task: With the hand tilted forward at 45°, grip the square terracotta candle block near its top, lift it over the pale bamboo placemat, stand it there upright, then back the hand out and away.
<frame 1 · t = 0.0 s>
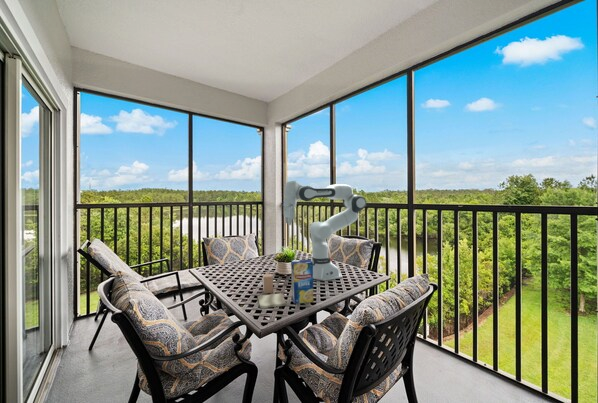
hand: (288, 224, 177), 39 cm above the table, tool pointing down, fingers open, 8 cm apart
terracotta candle block: (268, 291, 158), on the table
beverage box: (302, 300, 144), on the table
placemat: (271, 301, 143), on the table
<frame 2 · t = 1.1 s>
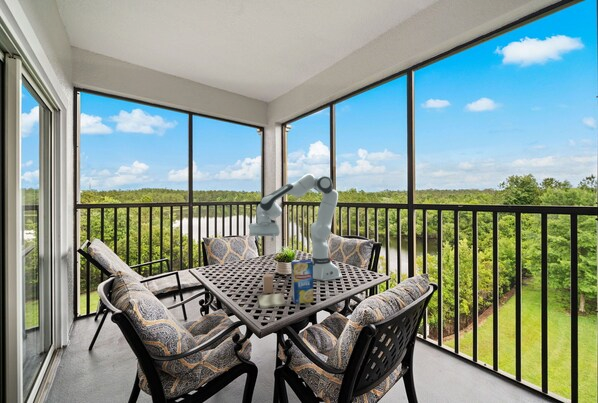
hand: (265, 240, 168), 29 cm above the table, tool tilted 45°, fingers open, 8 cm apart
nothing on the table moved.
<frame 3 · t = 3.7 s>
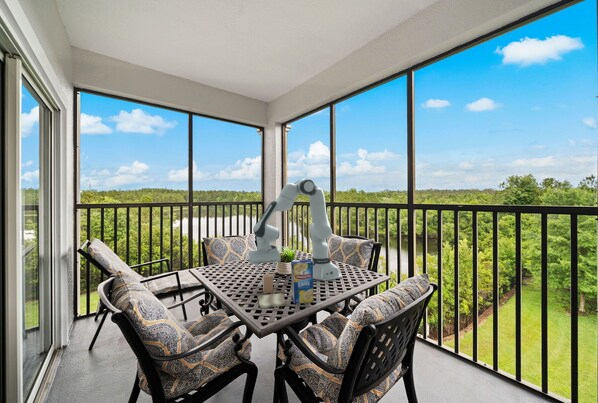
hand: (266, 268, 163), 12 cm above the table, tool tilted 45°, fingers open, 8 cm apart
nothing on the table moved.
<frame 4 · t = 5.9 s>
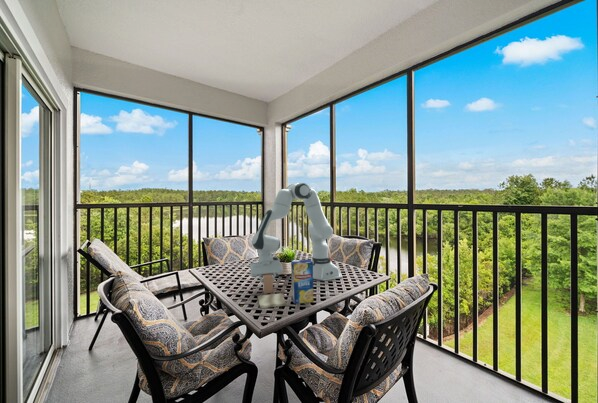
hand: (268, 281, 157), 6 cm above the table, tool tilted 45°, fingers closed on terracotta candle block, 5 cm apart
terracotta candle block: (268, 291, 158), on the table, touching gripper
everything else where it was.
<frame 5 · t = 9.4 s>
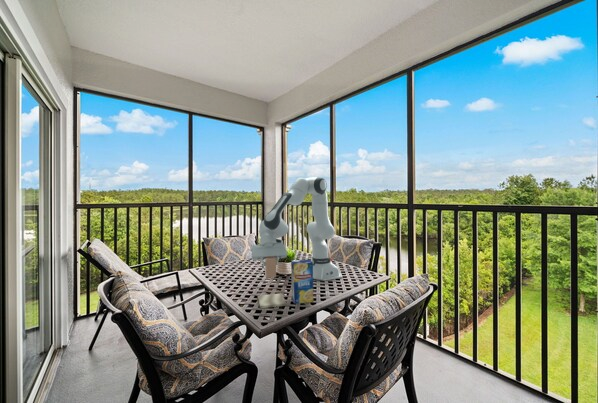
hand: (270, 265, 142), 21 cm above the table, tool tilted 45°, fingers closed on terracotta candle block, 5 cm apart
terracotta candle block: (270, 276, 143), point 14 cm above the table, touching gripper
everything else where it was.
when the fingers open (9 cm above the table, at t = 12.8 s): terracotta candle block drops 1 cm, resting on placemat.
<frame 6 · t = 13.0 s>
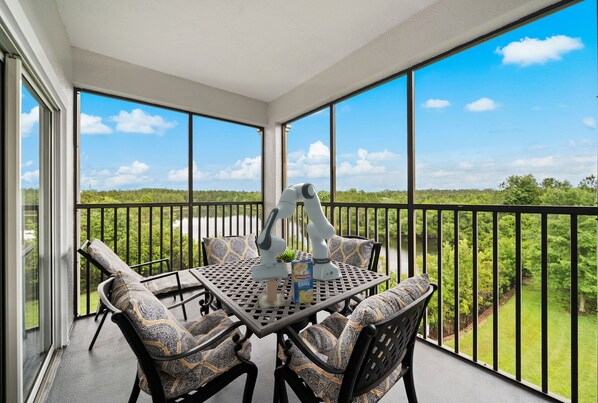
hand: (271, 286, 142), 9 cm above the table, tool tilted 45°, fingers open, 8 cm apart
terracotta candle block: (271, 299, 143), point 1 cm above the table, touching placemat
everything else where it was.
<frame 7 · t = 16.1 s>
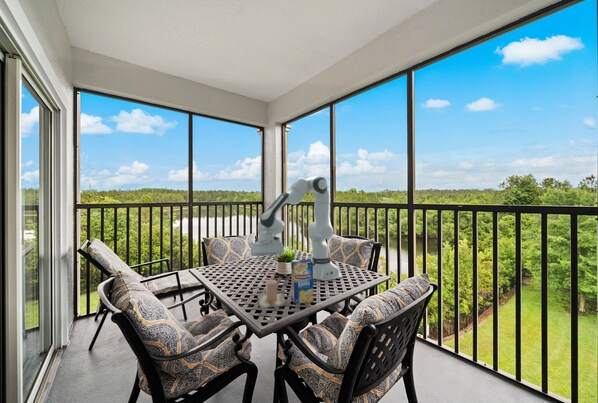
hand: (268, 260, 153), 20 cm above the table, tool tilted 45°, fingers open, 8 cm apart
nothing on the table moved.
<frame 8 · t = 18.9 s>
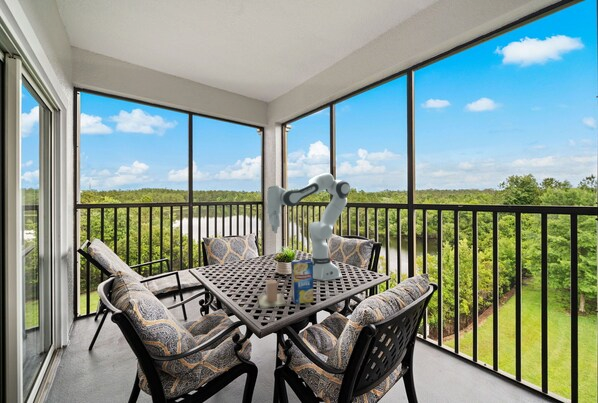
hand: (274, 232, 166), 35 cm above the table, tool pointing down, fingers open, 8 cm apart
nothing on the table moved.
at the end: terracotta candle block inside the target area on the placemat (0.1 cm from its centre), point 1.2 cm above the placemat's base; terracotta candle block tilted 0°; the gripper is holding nothing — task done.
